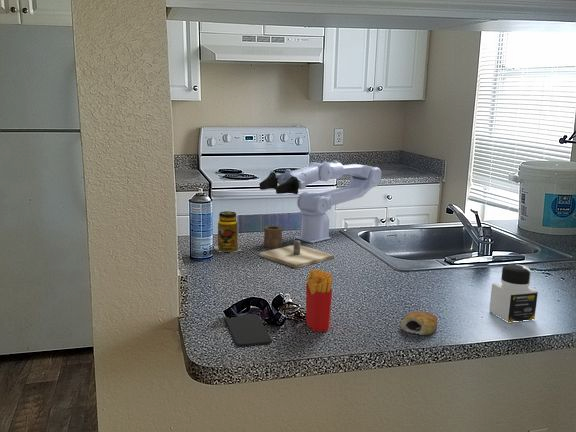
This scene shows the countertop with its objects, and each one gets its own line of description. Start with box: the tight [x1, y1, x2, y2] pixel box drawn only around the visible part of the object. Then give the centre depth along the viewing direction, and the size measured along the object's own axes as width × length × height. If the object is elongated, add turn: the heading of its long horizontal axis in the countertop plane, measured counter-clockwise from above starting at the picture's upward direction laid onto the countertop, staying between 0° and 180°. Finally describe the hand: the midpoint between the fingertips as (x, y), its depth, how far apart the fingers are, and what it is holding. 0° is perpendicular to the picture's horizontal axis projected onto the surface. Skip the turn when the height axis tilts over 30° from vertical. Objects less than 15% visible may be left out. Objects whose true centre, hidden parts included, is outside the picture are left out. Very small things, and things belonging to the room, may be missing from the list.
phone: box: [224, 313, 273, 348], centre depth 119 cm, size 7×1×15 cm
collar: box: [263, 225, 283, 249], centre depth 184 cm, size 6×6×6 cm
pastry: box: [399, 311, 438, 336], centre depth 123 cm, size 9×7×4 cm
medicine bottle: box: [488, 263, 539, 322], centre depth 129 cm, size 7×7×12 cm
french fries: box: [305, 268, 334, 332], centre depth 121 cm, size 8×4×12 cm, turn 21°
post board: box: [258, 239, 335, 269], centre depth 172 cm, size 16×16×5 cm
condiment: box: [213, 210, 244, 254], centre depth 178 cm, size 7×8×12 cm
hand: (268, 188), depth 176 cm, fingers open, 7 cm apart
